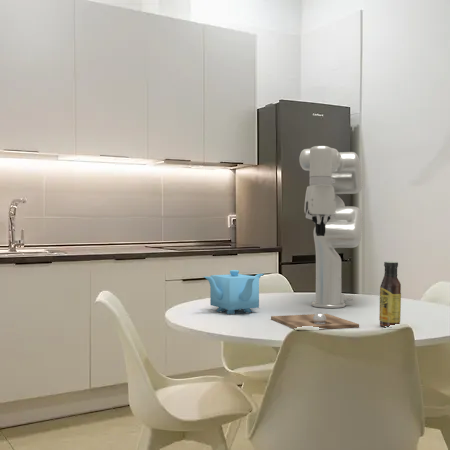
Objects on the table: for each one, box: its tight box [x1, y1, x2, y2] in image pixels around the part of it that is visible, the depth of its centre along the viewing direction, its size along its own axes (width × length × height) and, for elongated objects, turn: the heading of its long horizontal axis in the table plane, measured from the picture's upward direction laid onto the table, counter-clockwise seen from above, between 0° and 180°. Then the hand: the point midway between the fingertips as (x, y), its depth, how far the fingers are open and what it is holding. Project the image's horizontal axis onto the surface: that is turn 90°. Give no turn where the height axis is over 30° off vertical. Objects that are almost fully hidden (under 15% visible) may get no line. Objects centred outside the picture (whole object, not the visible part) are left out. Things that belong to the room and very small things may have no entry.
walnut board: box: [270, 313, 360, 330], centre depth 195 cm, size 20×22×1 cm
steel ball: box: [313, 312, 326, 324], centre depth 190 cm, size 4×4×4 cm
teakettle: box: [203, 269, 265, 315], centre depth 220 cm, size 19×19×15 cm
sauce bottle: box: [378, 260, 402, 328], centre depth 189 cm, size 7×6×20 cm
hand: (320, 235), depth 213 cm, fingers closed
